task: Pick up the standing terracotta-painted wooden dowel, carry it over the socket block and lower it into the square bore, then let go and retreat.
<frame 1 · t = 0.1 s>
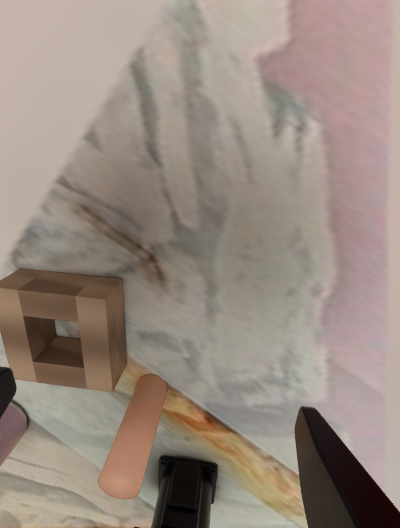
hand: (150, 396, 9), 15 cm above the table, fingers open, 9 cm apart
socket: (76, 318, 26), on the table
beverage can: (6, 412, 33), on the table
peg: (152, 386, 28), on the table
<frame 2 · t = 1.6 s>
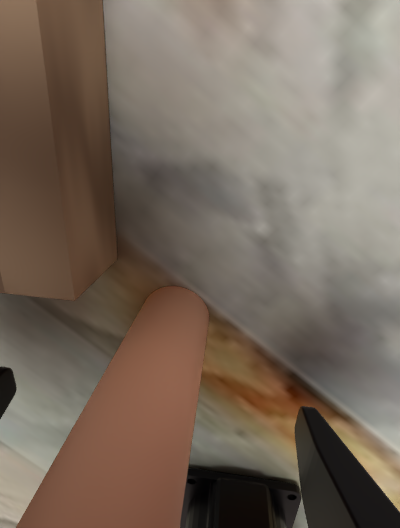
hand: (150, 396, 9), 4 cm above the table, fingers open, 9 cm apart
peg: (175, 316, 13), on the table
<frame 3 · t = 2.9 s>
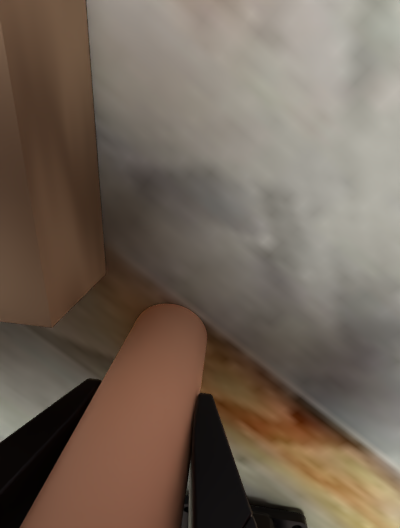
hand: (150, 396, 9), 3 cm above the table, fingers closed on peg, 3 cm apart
peg: (170, 335, 12), on the table, touching gripper
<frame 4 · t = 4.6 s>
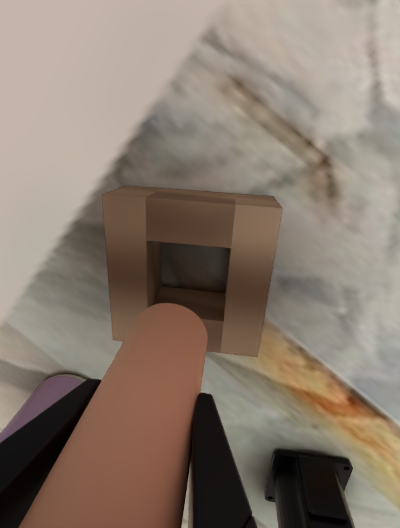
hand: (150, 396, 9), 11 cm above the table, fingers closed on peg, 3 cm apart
socket: (194, 259, 19), on the table
beverage can: (75, 394, 26), on the table
peg: (170, 335, 12), point 8 cm above the table, touching gripper
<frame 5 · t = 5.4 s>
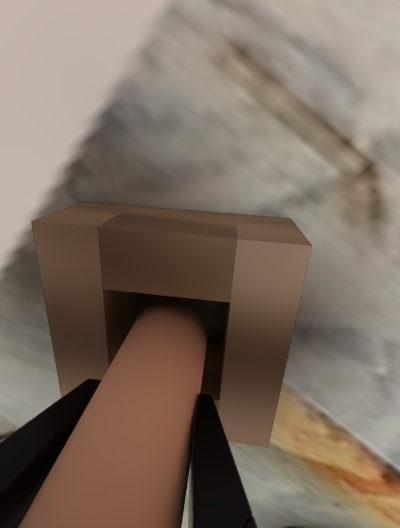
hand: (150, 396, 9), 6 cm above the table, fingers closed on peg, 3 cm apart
socket: (180, 301, 14), on the table
peg: (170, 335, 12), point 3 cm above the table, touching gripper
when the fingers open (4 cm above the table, at t = 6.2 s): peg drops 2 cm, resting in socket.
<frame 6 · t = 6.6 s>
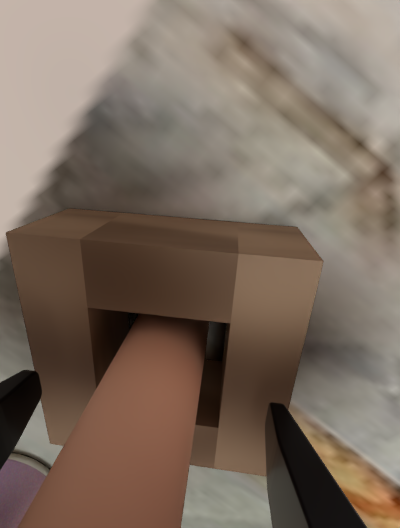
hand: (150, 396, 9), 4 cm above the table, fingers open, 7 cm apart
socket: (176, 315, 13), on the table
beverage can: (24, 475, 19), on the table
peg: (176, 314, 13), resting in socket
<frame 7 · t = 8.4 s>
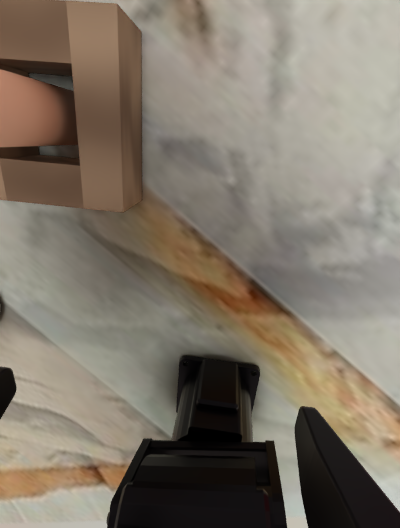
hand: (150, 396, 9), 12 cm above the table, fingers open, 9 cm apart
socket: (69, 118, 18), on the table
peg: (69, 118, 18), resting in socket
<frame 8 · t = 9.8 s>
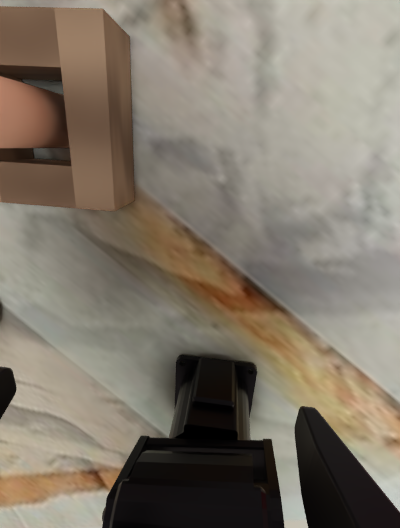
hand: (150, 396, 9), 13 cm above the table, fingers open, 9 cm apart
socket: (62, 122, 18), on the table
peg: (62, 121, 18), resting in socket
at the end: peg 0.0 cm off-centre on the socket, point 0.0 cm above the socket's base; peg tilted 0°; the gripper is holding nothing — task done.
